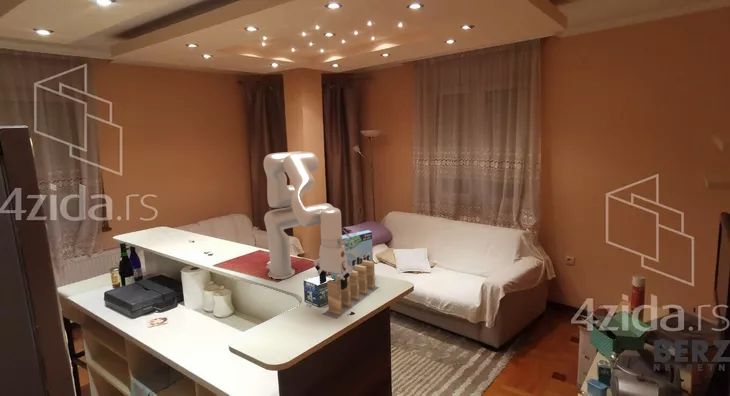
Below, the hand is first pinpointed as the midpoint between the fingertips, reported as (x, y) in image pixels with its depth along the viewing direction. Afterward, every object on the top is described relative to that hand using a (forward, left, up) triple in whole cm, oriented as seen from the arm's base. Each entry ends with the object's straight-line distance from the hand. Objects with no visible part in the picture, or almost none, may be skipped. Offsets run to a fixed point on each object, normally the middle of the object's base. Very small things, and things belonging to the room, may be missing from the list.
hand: (333, 285), depth 149 cm
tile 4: (0, +18, -10) cm, 21 cm away
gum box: (-9, +25, -11) cm, 29 cm away
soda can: (-27, +30, -11) cm, 41 cm away
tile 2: (0, +6, -10) cm, 12 cm away
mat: (0, +11, -11) cm, 16 cm away
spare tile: (0, 0, -10) cm, 10 cm away
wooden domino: (0, +24, -10) cm, 26 cm away
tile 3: (0, +12, -10) cm, 16 cm away
